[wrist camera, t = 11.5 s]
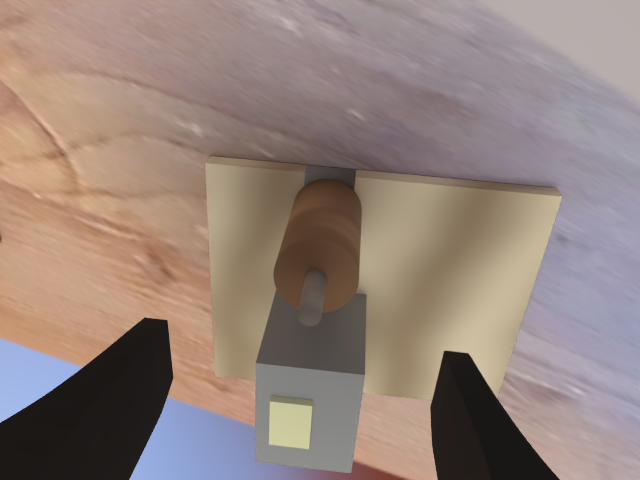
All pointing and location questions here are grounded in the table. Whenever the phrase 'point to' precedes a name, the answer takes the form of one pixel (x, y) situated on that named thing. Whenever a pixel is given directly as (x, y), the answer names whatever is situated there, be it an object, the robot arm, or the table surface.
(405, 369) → the plywood panel
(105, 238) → the table surface
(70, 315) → the table surface
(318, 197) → the awl
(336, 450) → the block
